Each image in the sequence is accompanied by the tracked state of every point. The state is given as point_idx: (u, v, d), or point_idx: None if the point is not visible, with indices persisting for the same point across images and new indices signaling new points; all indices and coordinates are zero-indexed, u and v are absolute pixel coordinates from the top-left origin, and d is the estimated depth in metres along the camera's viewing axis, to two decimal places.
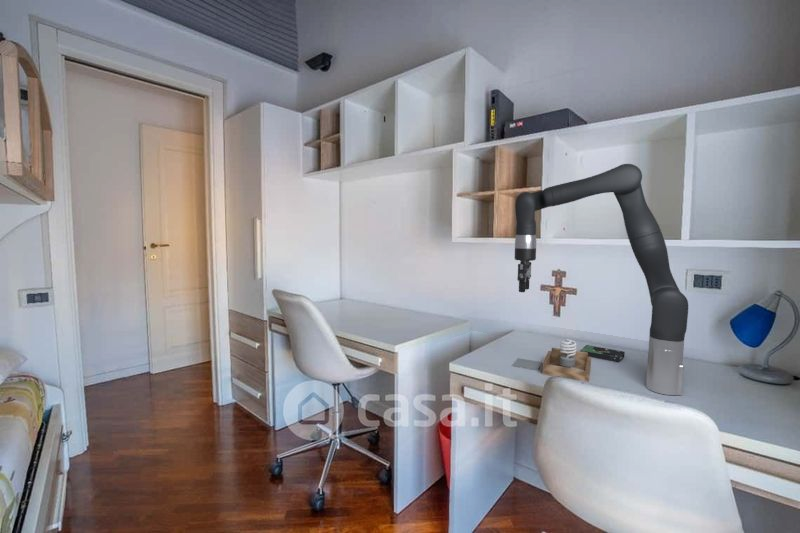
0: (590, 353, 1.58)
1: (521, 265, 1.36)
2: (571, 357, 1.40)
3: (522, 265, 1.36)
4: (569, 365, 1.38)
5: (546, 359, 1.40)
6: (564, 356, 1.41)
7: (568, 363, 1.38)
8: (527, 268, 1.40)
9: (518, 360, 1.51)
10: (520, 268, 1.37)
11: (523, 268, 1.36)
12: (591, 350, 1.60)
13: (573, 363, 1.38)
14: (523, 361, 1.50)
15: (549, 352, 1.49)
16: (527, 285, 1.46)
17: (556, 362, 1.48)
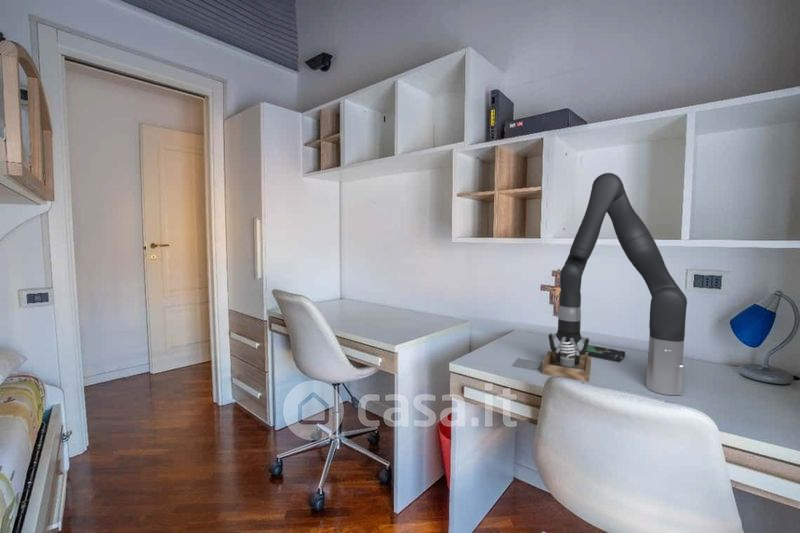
0: (591, 353, 1.58)
1: (588, 340, 1.37)
2: (571, 357, 1.40)
3: (588, 340, 1.37)
4: (569, 365, 1.38)
5: (546, 359, 1.40)
6: (564, 356, 1.41)
7: (568, 363, 1.38)
8: None
9: (518, 360, 1.51)
10: None
11: None
12: (592, 350, 1.60)
13: (573, 363, 1.38)
14: (523, 361, 1.50)
15: (549, 352, 1.49)
16: None
17: (556, 362, 1.48)
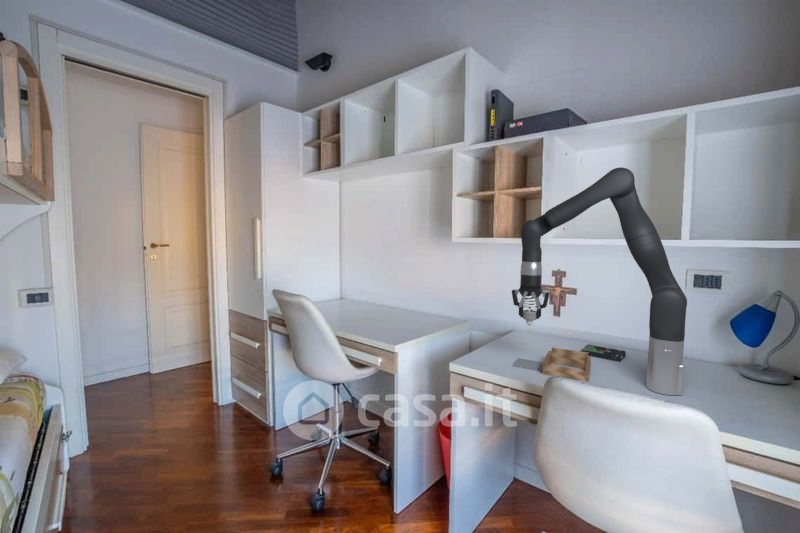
0: (591, 352, 1.58)
1: (549, 293, 1.42)
2: (533, 311, 1.45)
3: (549, 293, 1.42)
4: (531, 318, 1.44)
5: (546, 359, 1.40)
6: (526, 310, 1.46)
7: (530, 316, 1.43)
8: None
9: (518, 360, 1.51)
10: (548, 296, 1.42)
11: None
12: (592, 349, 1.61)
13: (534, 316, 1.44)
14: (523, 361, 1.50)
15: (549, 352, 1.49)
16: None
17: (556, 362, 1.48)
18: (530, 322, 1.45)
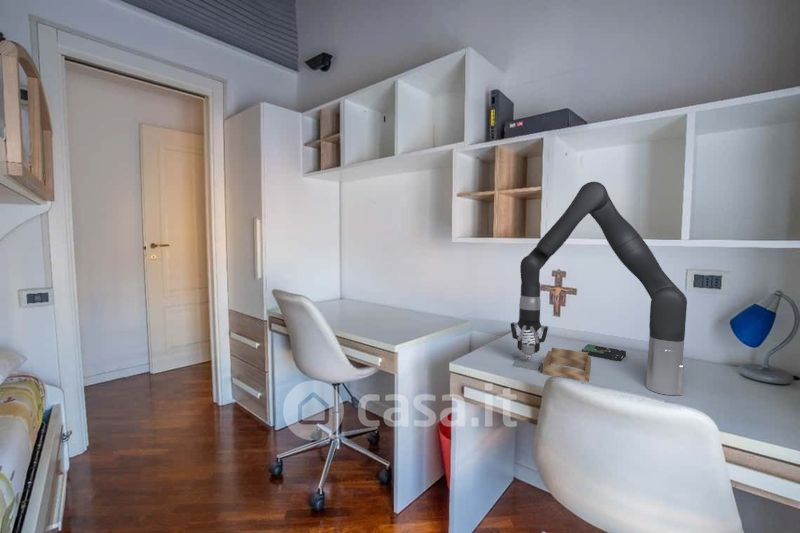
0: (591, 352, 1.59)
1: (547, 328, 1.43)
2: (531, 345, 1.46)
3: (547, 328, 1.43)
4: (529, 352, 1.45)
5: (546, 359, 1.40)
6: (525, 344, 1.47)
7: (528, 350, 1.45)
8: None
9: (518, 360, 1.51)
10: (546, 331, 1.43)
11: (547, 330, 1.44)
12: (592, 349, 1.61)
13: (533, 350, 1.45)
14: (523, 361, 1.50)
15: (549, 352, 1.49)
16: None
17: (556, 362, 1.48)
18: (528, 356, 1.46)
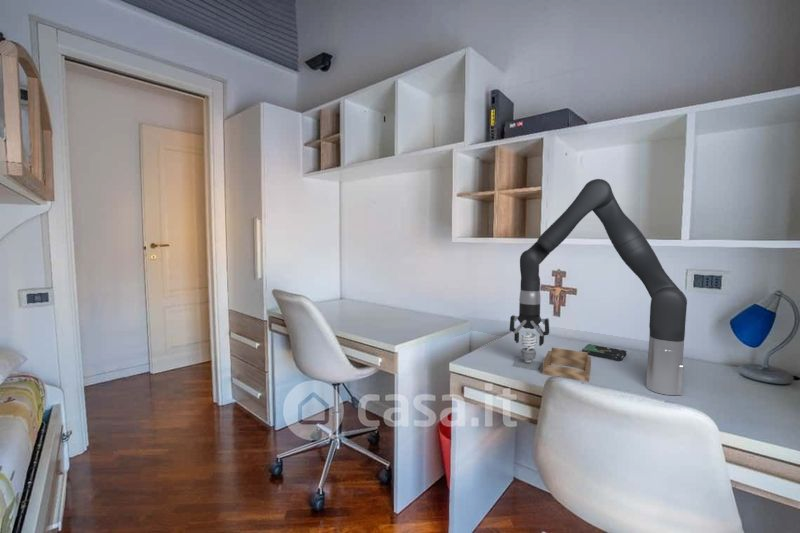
0: (592, 352, 1.59)
1: (548, 320, 1.43)
2: (532, 350, 1.46)
3: (548, 319, 1.43)
4: (529, 357, 1.45)
5: (546, 359, 1.40)
6: (525, 349, 1.47)
7: (529, 355, 1.45)
8: None
9: (518, 360, 1.51)
10: (548, 323, 1.42)
11: (548, 322, 1.43)
12: (593, 349, 1.61)
13: (533, 355, 1.45)
14: (523, 361, 1.50)
15: (549, 352, 1.49)
16: (518, 338, 1.49)
17: (556, 362, 1.48)
18: (528, 361, 1.46)
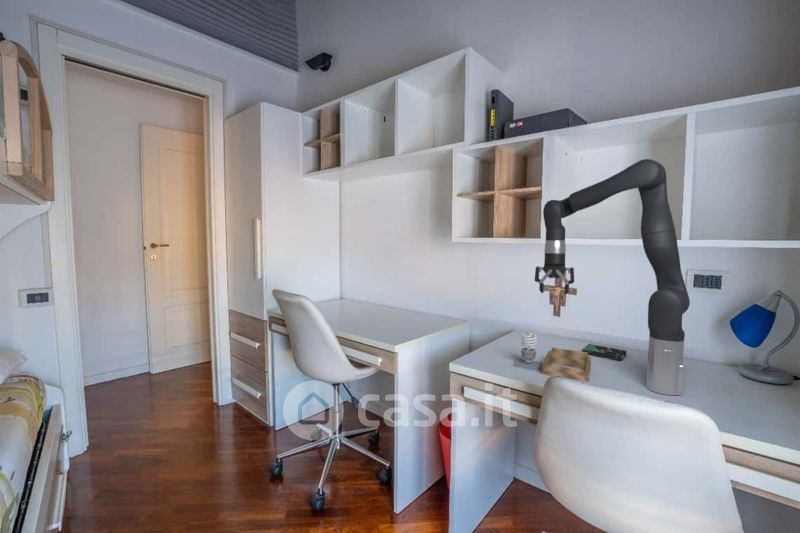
0: (592, 352, 1.59)
1: None
2: (532, 350, 1.46)
3: (573, 268, 1.47)
4: (529, 357, 1.45)
5: (546, 359, 1.40)
6: (525, 349, 1.47)
7: (529, 355, 1.45)
8: None
9: (518, 360, 1.51)
10: (573, 271, 1.46)
11: None
12: (593, 349, 1.62)
13: (533, 355, 1.45)
14: (523, 361, 1.50)
15: (549, 352, 1.49)
16: (543, 288, 1.52)
17: (556, 362, 1.48)
18: (529, 361, 1.46)
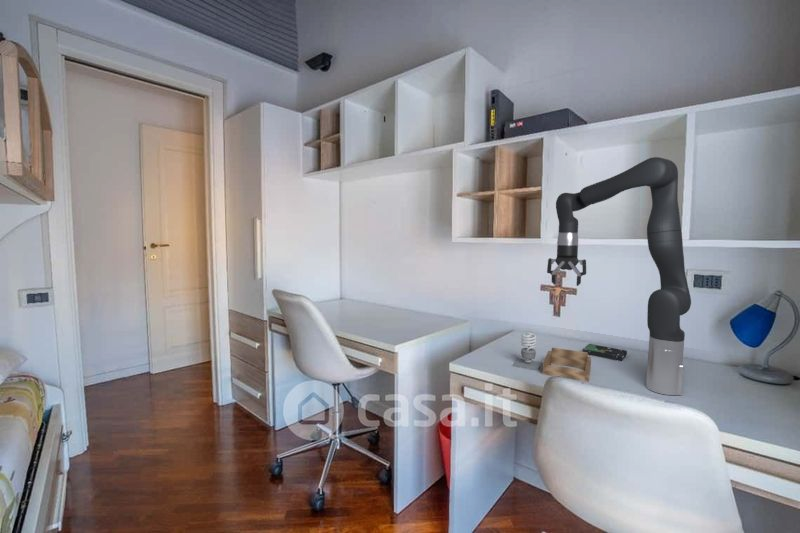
0: (592, 352, 1.60)
1: (585, 260, 1.49)
2: (531, 350, 1.46)
3: (585, 260, 1.49)
4: (529, 357, 1.45)
5: (546, 359, 1.40)
6: (525, 349, 1.47)
7: (528, 355, 1.45)
8: None
9: (518, 360, 1.51)
10: (585, 263, 1.49)
11: None
12: (593, 349, 1.62)
13: (533, 355, 1.45)
14: (523, 361, 1.50)
15: (549, 352, 1.49)
16: (555, 280, 1.55)
17: (556, 362, 1.48)
18: (528, 361, 1.46)
